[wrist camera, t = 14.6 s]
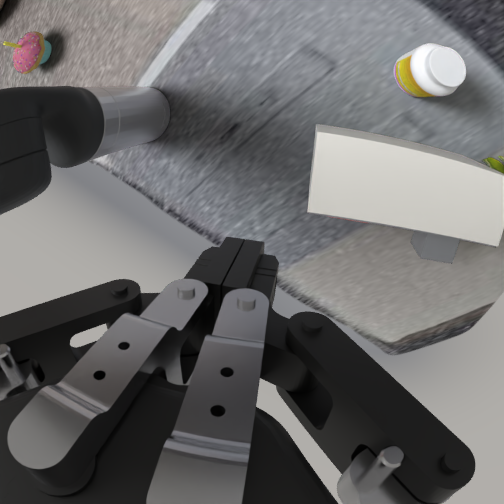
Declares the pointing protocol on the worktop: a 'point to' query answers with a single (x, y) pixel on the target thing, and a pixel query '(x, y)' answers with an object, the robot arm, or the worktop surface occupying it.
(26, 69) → the cupcake
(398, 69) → the supplement bottle
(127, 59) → the worktop surface
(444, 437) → the robot arm
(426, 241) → the grey button
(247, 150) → the worktop surface
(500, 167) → the passion flower
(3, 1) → the cooking pot
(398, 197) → the push button box
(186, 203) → the worktop surface
